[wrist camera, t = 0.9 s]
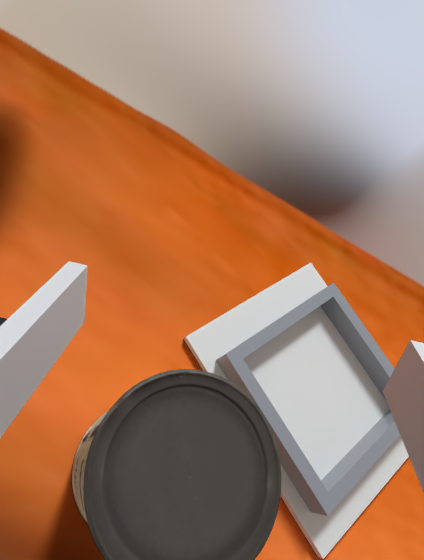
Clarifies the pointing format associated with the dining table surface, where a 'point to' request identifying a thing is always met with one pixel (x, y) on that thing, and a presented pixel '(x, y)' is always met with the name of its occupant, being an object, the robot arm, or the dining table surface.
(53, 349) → the robot arm
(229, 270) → the dining table surface
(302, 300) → the caddy
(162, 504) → the coffee can
